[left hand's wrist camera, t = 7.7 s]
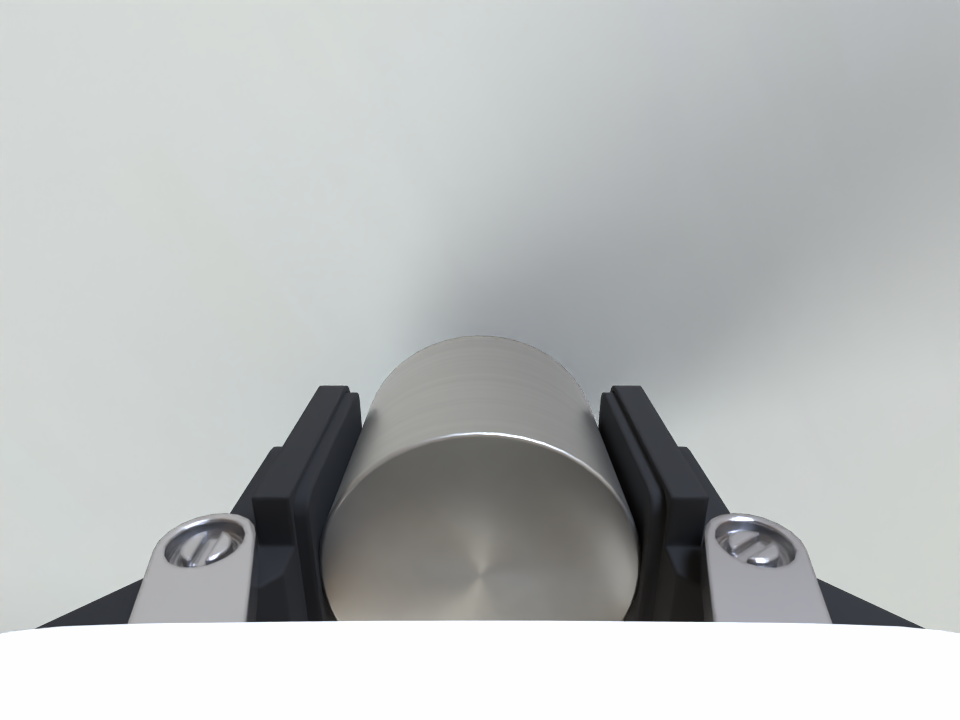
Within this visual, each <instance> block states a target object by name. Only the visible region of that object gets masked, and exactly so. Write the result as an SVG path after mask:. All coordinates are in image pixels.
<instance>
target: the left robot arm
mask: <svg viewBox="0 0 960 720" xmlns="http://www.w3.org/2000/svg"><path fill="white" fill-rule="evenodd" d="M598 429H599V432H600V434H601V437H602V440H603V442H604V445H605V447H606V450H607V452H608V455H609V458H610V460H611V463H612V465H613V468H614V470H615V473H616V476H617V478H618V481H619V483H620V486H621V488H622V491H623V494H624V496H625V499H626V501H627V504H628V506H629V509H630V512H631V514H632V517H633V519H634V522H635V526H636V529H637V532H638V535H639V540H640V546H641V553H642V556H641V573H640V580H639V585H638V590H637V593H636V596H635V599H634V602H633V604H632V607H631V609H630V610H629V612H628V614H627V616H626V618H625V620H624V621H336V619H335V617H334V615H333V614H332V612H331V610H330V608H329V606H328V603H327V601H326V598H325V596H324V592H323V588H322V583H321V578H320V568H319V549H320V541H321V537H322V533H323V529H324V526H325V523H326V520H327V518H328V515H329V513H330V510H331V507H332V505H333V502H334V500H335V497H336V494H337V492H338V489H339V487H340V484H341V482H342V479H343V476H344V474H345V471H346V469H347V466H348V464H349V461H350V458H351V456H352V453H353V451H354V448H355V445H356V443H357V440H358V438H359V435H360V433H361V430H362V423H361V411H360V399H359V394H358V393H350V390H349V387H348V386H320V387H319V388H318V389H317V391H316V393H315V394H314V396H313V398H312V399H311V401H310V402H309V404H308V406H307V407H306V409H305V411H304V412H303V414H302V415H301V417H300V419H299V420H298V422H297V424H296V425H295V427H294V429H293V430H292V432H291V433H290V435H289V437H288V438H287V440H286V442H285V443H284V445H283V446H282V447H273V448H272V450H271V451H270V452H269V454H268V455H267V457H266V458H265V460H264V461H263V463H262V464H261V466H260V468H259V469H258V471H257V472H256V474H255V475H254V477H253V478H252V480H251V482H250V483H249V485H248V486H247V488H246V489H245V491H244V492H243V494H242V496H241V497H240V499H239V500H238V502H237V503H236V505H235V506H234V508H233V510H232V511H231V513H230V514H229V513H222V514H210V515H206V516H202V517H197V518H195V519H192V520H190V521H187V522H185V523H182V524H180V525H179V526H177V527H176V528H174V529H172V530H171V531H169V532H168V533H167V534H166V535H165V536H164V537H162V538H161V539H160V540H159V542H158V543H157V545H156V547H155V548H154V550H153V553H152V555H151V558H150V561H149V564H148V567H147V570H146V573H145V575H144V578H143V579H141V580H139V581H137V582H134V583H132V584H130V585H128V586H126V587H124V588H122V589H119V590H117V591H115V592H113V593H111V594H109V595H107V596H104V597H102V598H100V599H98V600H96V601H94V602H91V603H89V604H87V605H85V606H83V607H81V608H79V609H76V610H74V611H72V612H70V613H68V614H66V615H63V616H61V617H59V618H57V619H55V620H53V621H51V622H48V623H46V624H44V625H42V626H40V627H38V628H36V629H30V630H20V631H13V632H7V633H1V634H0V720H960V634H959V633H953V632H947V631H940V630H930V629H925V628H923V627H920V626H918V625H916V624H914V623H912V622H910V621H908V620H905V619H903V618H901V617H899V616H897V615H895V614H892V613H890V612H888V611H886V610H884V609H882V608H880V607H877V606H875V605H873V604H871V603H869V602H867V601H865V600H862V599H860V598H858V597H856V596H854V595H852V594H849V593H847V592H845V591H843V590H841V589H839V588H837V587H834V586H832V585H830V584H828V583H826V582H824V581H821V580H819V579H817V578H816V575H815V573H814V570H813V567H812V564H811V561H810V558H809V555H808V553H807V550H806V548H805V547H804V545H803V543H802V542H801V540H800V539H799V538H798V537H796V536H795V535H794V534H793V533H792V532H791V531H789V530H788V529H786V528H784V527H783V526H781V525H780V524H778V523H775V522H773V521H770V520H768V519H765V518H763V517H758V516H754V515H750V514H738V513H731V514H730V512H729V511H728V509H727V508H726V506H725V504H724V503H723V501H722V500H721V498H720V497H719V495H718V493H717V492H716V490H715V489H714V487H713V486H712V484H711V483H710V481H709V479H708V478H707V476H706V475H705V473H704V472H703V470H702V469H701V467H700V465H699V464H698V462H697V461H696V459H695V458H694V456H693V455H692V453H691V451H690V450H689V449H688V448H687V447H678V446H677V444H676V443H675V441H674V439H673V438H672V436H671V434H670V433H669V431H668V430H667V428H666V426H665V425H664V423H663V421H662V420H661V418H660V417H659V415H658V413H657V412H656V410H655V408H654V407H653V405H652V403H651V402H650V400H649V399H648V397H647V395H646V394H645V392H644V390H643V389H642V387H641V386H612V388H611V391H610V393H602V396H601V403H600V415H599V427H598Z"/></svg>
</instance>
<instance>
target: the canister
mask: <svg viewBox="0 0 960 720" xmlns="http://www.w3.org/2000/svg"><path fill="white" fill-rule="evenodd" d="M641 556H642V553H641V546H640V540H639V535H638V532H637V529H636V526H635V522H634V519H633V517H632V514H631V512H630V509H629V506H628V504H627V501H626V499H625V496H624V494H623V491H622V488H621V486H620V483H619V481H618V478H617V476H616V473H615V470H614V468H613V465H612V463H611V460H610V458H609V455H608V452H607V450H606V447H605V445H604V442H603V440H602V437H601V434H600V432H599V429H598V427H597V424H596V422H595V419H594V416H593V414H592V411H591V409H590V406H589V404H588V401H587V399H586V397H585V395H584V393H583V391H582V389H581V388H580V387H579V385H578V384H577V382H576V381H575V379H574V378H573V377H572V376H571V375H570V374H569V373H568V372H567V370H566V369H565V368H564V367H563V366H561V365H560V364H559V363H558V362H556V361H555V360H554V359H553V358H551V357H550V356H548V355H547V354H545V353H543V352H542V351H540V350H538V349H536V348H534V347H531V346H529V345H527V344H525V343H521V342H518V341H515V340H511V339H507V338H501V337H495V336H467V337H459V338H454V339H449V340H445V341H442V342H439V343H436V344H433V345H431V346H429V347H427V348H425V349H423V350H421V351H418V352H417V353H415V354H414V355H412V356H411V357H409V358H408V359H406V360H405V361H404V362H402V363H401V364H400V365H399V366H398V367H397V368H396V369H395V370H393V372H392V373H391V374H390V375H389V376H388V377H387V379H386V380H385V381H384V382H383V384H382V385H381V387H380V389H379V390H378V392H377V393H376V395H375V398H374V400H373V402H372V404H371V407H370V409H369V412H368V415H367V417H366V420H365V422H364V425H363V427H362V430H361V433H360V435H359V438H358V440H357V443H356V445H355V448H354V451H353V453H352V456H351V458H350V461H349V464H348V466H347V469H346V471H345V474H344V476H343V479H342V482H341V484H340V487H339V489H338V492H337V494H336V497H335V500H334V502H333V505H332V507H331V510H330V513H329V515H328V518H327V520H326V523H325V526H324V529H323V533H322V537H321V541H320V549H319V568H320V578H321V583H322V588H323V592H324V596H325V598H326V601H327V603H328V606H329V608H330V610H331V612H332V614H333V615H334V617H335V619H336V621H624V620H625V618H626V616H627V614H628V612H629V610H630V609H631V607H632V604H633V602H634V599H635V596H636V593H637V590H638V585H639V580H640V573H641Z"/></svg>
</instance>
